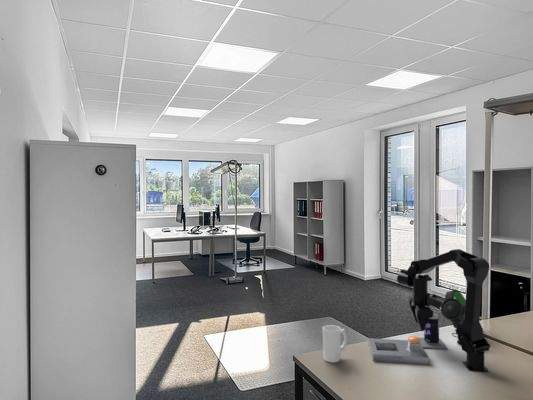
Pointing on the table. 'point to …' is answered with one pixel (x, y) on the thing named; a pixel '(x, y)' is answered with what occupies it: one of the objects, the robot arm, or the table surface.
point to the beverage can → (432, 330)
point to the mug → (333, 343)
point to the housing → (397, 351)
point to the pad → (437, 346)
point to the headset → (454, 308)
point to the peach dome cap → (414, 340)
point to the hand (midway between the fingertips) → (420, 326)
